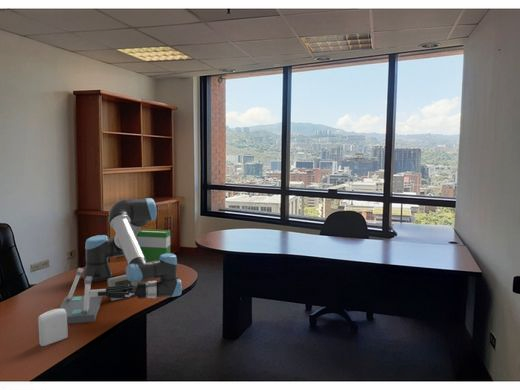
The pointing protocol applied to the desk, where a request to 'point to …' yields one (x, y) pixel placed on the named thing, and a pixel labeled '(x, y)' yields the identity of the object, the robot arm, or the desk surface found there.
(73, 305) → the switch unit
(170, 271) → the robot arm
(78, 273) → the lever
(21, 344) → the desk surface
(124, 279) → the digital clock
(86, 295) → the lever
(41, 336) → the photo printer
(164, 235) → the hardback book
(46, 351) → the desk surface
